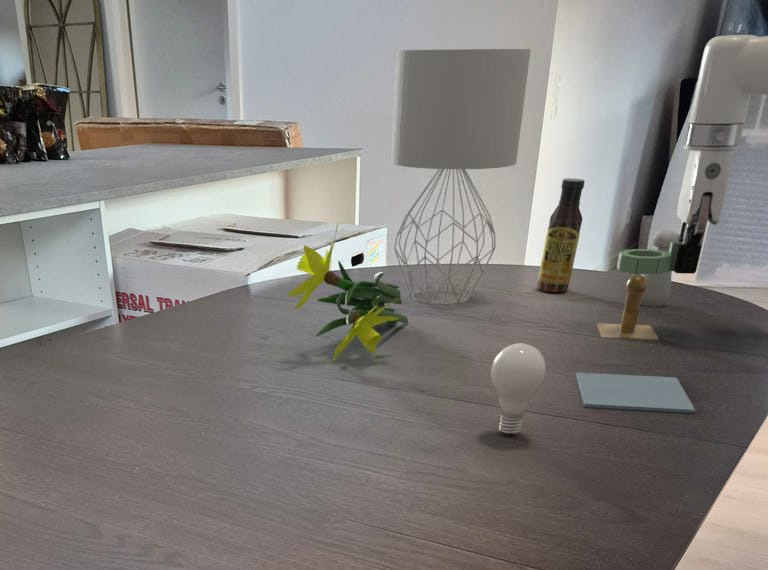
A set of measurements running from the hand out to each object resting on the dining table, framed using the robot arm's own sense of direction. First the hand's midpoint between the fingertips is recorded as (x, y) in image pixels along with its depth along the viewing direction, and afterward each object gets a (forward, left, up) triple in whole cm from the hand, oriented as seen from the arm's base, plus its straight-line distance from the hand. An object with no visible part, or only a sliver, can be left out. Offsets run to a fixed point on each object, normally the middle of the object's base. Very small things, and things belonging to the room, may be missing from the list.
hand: (683, 270), depth 135 cm
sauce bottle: (+17, -33, -11) cm, 39 cm away
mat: (+10, +31, -11) cm, 34 cm away
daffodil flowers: (+51, +11, -11) cm, 53 cm away
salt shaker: (0, -21, -11) cm, 24 cm away
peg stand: (+7, 0, -11) cm, 12 cm away
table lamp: (+39, -23, -11) cm, 46 cm away
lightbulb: (+27, +50, -11) cm, 57 cm away
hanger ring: (+4, 0, 0) cm, 4 cm away
